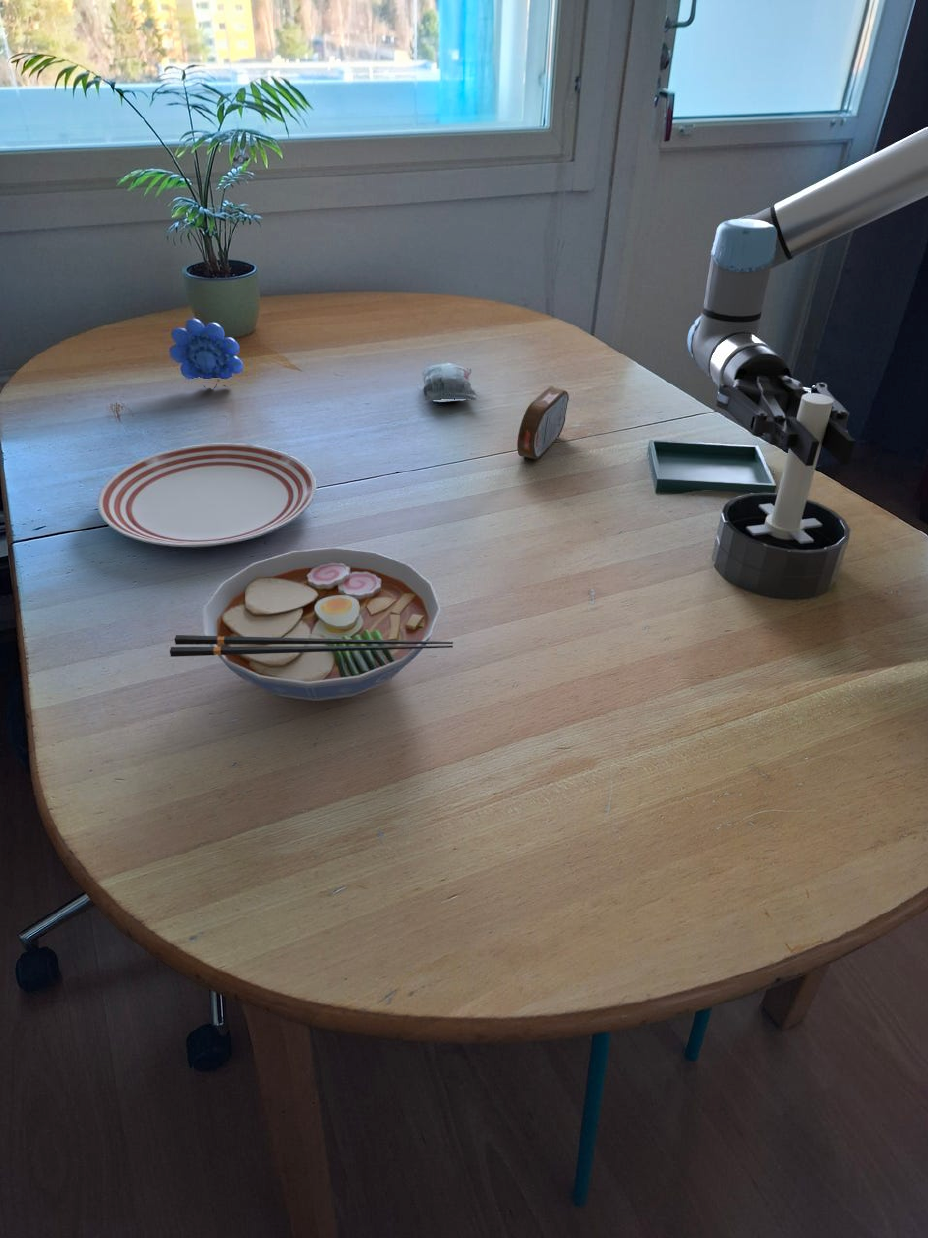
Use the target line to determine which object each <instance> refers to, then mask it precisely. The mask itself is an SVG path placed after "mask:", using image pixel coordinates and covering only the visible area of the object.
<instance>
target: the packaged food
mask: <svg viewBox="0 0 928 1238" xmlns="http://www.w3.org/2000/svg"><path fill="white" fill-rule="evenodd" d="M471 374H472V368H465V367H463V366H461V365H457V364H453V363H452V362H446V363H439V364H431V365H427V366H426V367H424V369H423V371H422V378H423V383H424V384H423V385H424V386H423V393H424V397H425V399H426V401H427V402H428V403H433V402H432V401H433V400H441V399H454V400H455V399H466V400H467V401H469V400H468V399H470V400H473V401H477V400H478V395H477V392H476V391H475V389H473V388H472V384H471V382H470V378H469V377H470V375H471Z"/></svg>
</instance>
